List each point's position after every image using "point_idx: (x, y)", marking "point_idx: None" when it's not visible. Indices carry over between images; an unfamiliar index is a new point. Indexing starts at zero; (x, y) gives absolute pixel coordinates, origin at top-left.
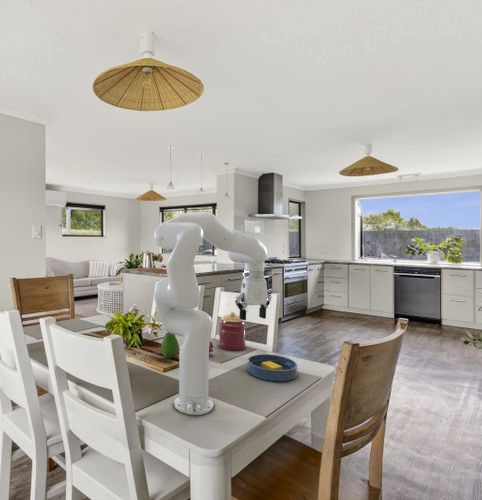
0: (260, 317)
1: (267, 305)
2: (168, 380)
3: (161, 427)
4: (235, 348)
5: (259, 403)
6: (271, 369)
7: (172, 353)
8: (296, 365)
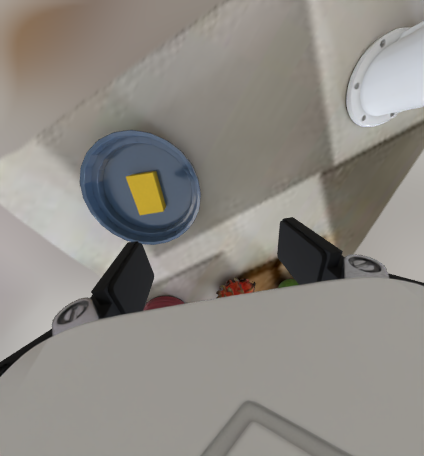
0: (150, 269)
1: (45, 337)
2: (339, 205)
3: None
4: (168, 298)
5: (263, 38)
6: (155, 178)
7: (294, 281)
8: (87, 156)
